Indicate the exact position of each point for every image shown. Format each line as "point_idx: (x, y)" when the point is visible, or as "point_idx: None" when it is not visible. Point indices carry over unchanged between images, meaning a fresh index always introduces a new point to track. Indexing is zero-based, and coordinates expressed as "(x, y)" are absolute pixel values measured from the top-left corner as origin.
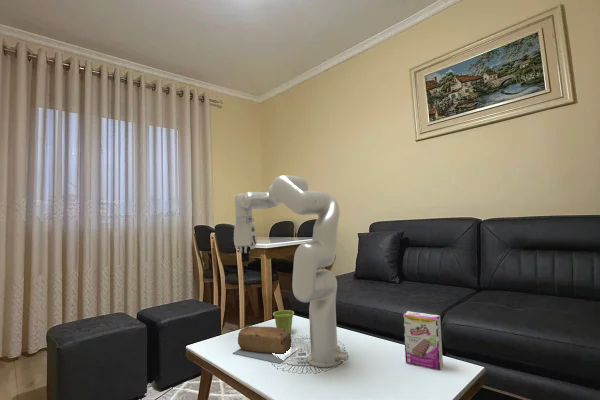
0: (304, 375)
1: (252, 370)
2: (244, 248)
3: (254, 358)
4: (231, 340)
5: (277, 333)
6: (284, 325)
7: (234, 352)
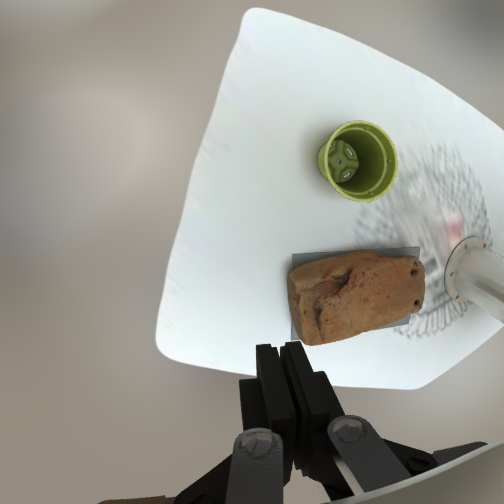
0: (450, 330)
1: (372, 364)
2: (272, 493)
3: None
4: (224, 280)
5: (408, 304)
6: (363, 184)
7: (293, 336)
